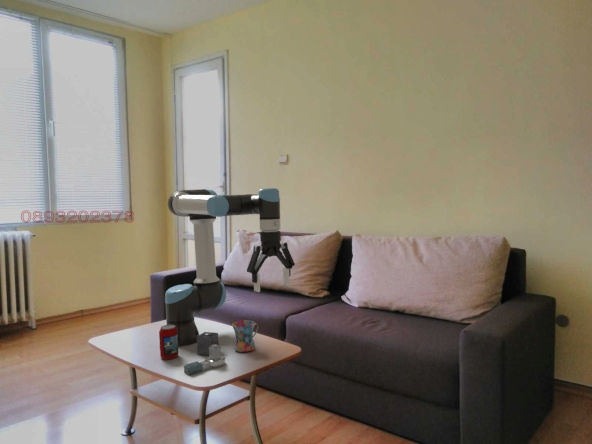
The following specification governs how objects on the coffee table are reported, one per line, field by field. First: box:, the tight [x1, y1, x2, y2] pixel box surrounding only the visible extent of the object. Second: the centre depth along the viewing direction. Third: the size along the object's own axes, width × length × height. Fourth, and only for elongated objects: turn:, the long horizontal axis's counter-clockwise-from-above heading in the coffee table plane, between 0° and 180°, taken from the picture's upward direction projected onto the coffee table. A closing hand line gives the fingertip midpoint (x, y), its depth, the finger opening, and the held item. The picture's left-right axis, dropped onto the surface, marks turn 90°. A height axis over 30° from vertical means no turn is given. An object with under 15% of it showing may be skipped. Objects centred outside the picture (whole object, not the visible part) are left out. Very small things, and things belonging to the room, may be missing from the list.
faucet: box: [183, 344, 226, 376], centre depth 161 cm, size 7×15×7 cm, turn 132°
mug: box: [231, 319, 260, 353], centre depth 179 cm, size 12×9×11 cm
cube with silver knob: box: [196, 331, 220, 357], centre depth 176 cm, size 6×6×8 cm
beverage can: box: [158, 324, 179, 360], centre depth 173 cm, size 7×7×12 cm
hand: (272, 288), depth 164 cm, fingers open, 13 cm apart
